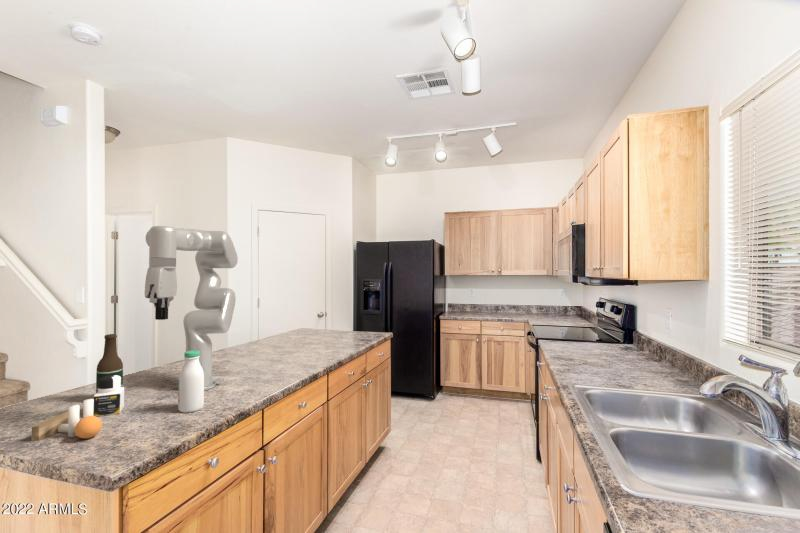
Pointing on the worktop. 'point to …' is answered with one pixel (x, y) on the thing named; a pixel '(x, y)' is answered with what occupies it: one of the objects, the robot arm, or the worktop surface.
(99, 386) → the medicine bottle
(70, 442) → the worktop surface
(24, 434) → the worktop surface
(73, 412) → the pin
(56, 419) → the bar
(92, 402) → the pin
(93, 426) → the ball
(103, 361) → the beer bottle
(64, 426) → the pin front
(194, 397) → the milk bottle
